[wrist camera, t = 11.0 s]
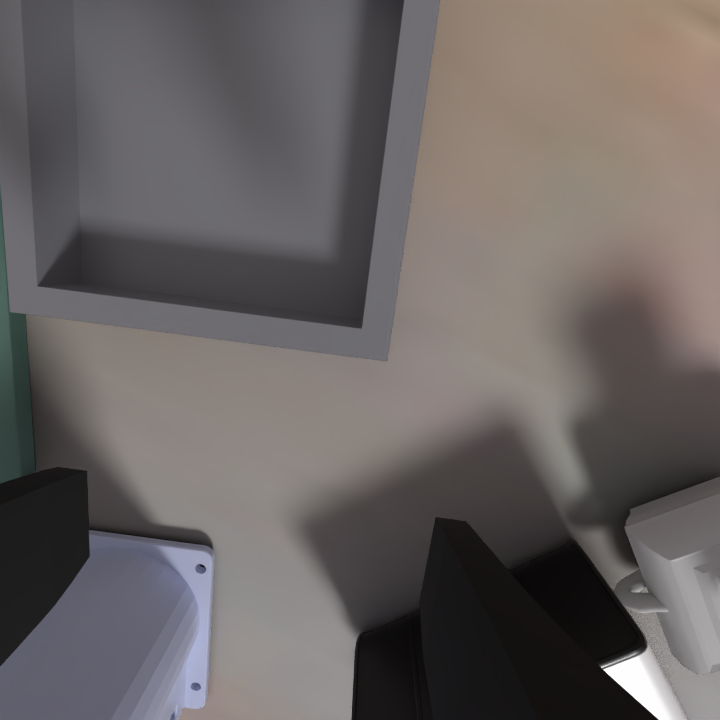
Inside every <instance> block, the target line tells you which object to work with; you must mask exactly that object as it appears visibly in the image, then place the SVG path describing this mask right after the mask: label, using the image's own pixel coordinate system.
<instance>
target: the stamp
mask: <svg viewBox="0 0 720 720" xmlns="http://www.w3.org/2000/svg"><path fill="white" fill-rule="evenodd" d="M624 528H625V531H626V534H627V536H628V539H629V542H630V544H631V547H632V550H633V552H634V555H635V558H636V560H637V563H638V565H639V568H640V569H639V570H638V571H636V572H634V573H632V574H631V575H629V576H627V577H625V578H624V579H622V580H621V581H619V582H618V583H617V585H616V587H615V589H614V591H613V592H614V593H615V595H616V596H617V597H618V599H619V600H620V602H621V603H622V604H623V606H624V607H625V608H627V609H630V610H633V611H636V612H639V613H649V612H656V613H657V616H658V619H659V621H660V624H661V627H662V629H663V632H664V635H665V637H666V640H667V643H668V645H669V648H670V651H671V653H672V655H673V656H674V657H675V658H676V659H677V660H678V661H679V662H680V663H681V664H682V665H683V666H684V667H686V668H688V669H689V670H691V671H693V672H694V673H696V674H702V675H704V674H709V673H713V672H716V671H719V670H720V477H717V478H714V479H712V480H709V481H706V482H703V483H701V484H698V485H695V486H692V487H690V488H687V489H684V490H681V491H679V492H676V493H673V494H670V495H668V496H665V497H662V498H659V499H657V500H654V501H651V502H648V503H646V504H643V505H640V506H637V507H635V508H632V509H630V515H629V517H628V518H627V520H626V526H625V527H624ZM644 587H647V589H648V592H649V593H639V592H640V590H642V589H643V588H644Z"/></svg>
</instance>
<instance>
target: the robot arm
mask: <svg viewBox="0 0 720 720" xmlns="http://www.w3.org/2000/svg"><path fill="white" fill-rule="evenodd" d="M214 558H215V555H214V552H213V550H212V549H211V548H210V547H208V546H205V545H198V544H191V543H183V542H176V541H168V540H161V539H153V538H146V537H138V536H131V535H123V534H116V533H108V532H101V531H93V530H89V517H88V486H87V471H84V470H76V469H68V468H61V467H56V468H52V469H47V470H43V471H40V472H36V473H32V474H29V475H26V476H22V477H19V478H16V479H13V480H9V481H6V482H3V483H0V720H178V719H179V717H180V714H181V712H182V710H183V707H185V708H192V709H199V708H202V707H203V706H204V705H205V702H206V700H207V696H208V677H209V657H210V638H211V618H212V598H213V578H214ZM199 564H202V565H204V566H205V567H206V568H203V567H201V566H200V565H199ZM420 616H421V633H422V648H423V658H424V665H425V671H426V677H427V683H428V689H429V696H430V702H431V708H432V714H433V720H658V719H657V718H656V717H655V716H654V715H653V714H652V713H651V712H650V711H648V710H647V709H646V708H645V707H644V706H643V705H642V704H641V703H640V702H638V701H637V700H636V699H635V698H634V697H633V696H632V695H631V694H630V693H628V692H627V691H626V690H625V689H624V688H623V687H622V686H621V685H619V684H618V683H617V682H616V681H615V680H614V679H613V678H612V677H611V676H610V675H608V674H607V673H606V672H605V671H604V670H603V669H602V668H601V667H600V666H599V665H598V664H597V663H596V662H595V661H594V660H593V659H592V658H591V657H590V656H589V655H588V654H587V653H586V652H585V651H584V650H583V649H582V648H581V647H580V646H579V645H578V644H577V643H576V642H575V641H574V640H573V639H572V638H571V637H570V636H569V635H568V634H567V633H566V632H565V631H564V630H563V629H562V628H561V627H560V626H559V625H558V624H557V623H556V622H555V621H554V620H553V619H552V618H551V617H550V616H549V615H548V614H547V613H546V612H545V611H544V610H543V609H542V607H541V606H540V605H539V604H538V603H537V602H536V601H535V600H534V599H533V598H532V597H531V596H530V594H529V593H528V592H527V591H526V590H525V589H524V588H523V587H522V586H521V584H520V583H519V582H518V581H517V580H516V579H515V578H514V577H513V575H512V574H511V573H510V572H509V571H508V570H507V569H506V567H505V566H504V565H503V564H502V563H501V562H500V560H499V559H498V558H497V557H496V556H495V555H494V553H493V552H492V551H491V550H490V549H489V548H488V546H487V545H486V544H485V543H484V542H483V541H482V539H481V538H480V537H479V536H478V535H477V534H476V532H475V531H474V530H473V529H472V528H471V527H470V526H469V525H468V523H467V522H466V521H460V520H452V519H445V518H437V517H436V519H435V524H434V529H433V534H432V540H431V545H430V550H429V555H428V560H427V565H426V571H425V576H424V581H423V586H422V591H421V597H420Z"/></svg>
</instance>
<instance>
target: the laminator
mask: <svg viewBox="0 0 720 720" xmlns="http://www.w3.org/2000/svg"><path fill="white" fill-rule="evenodd" d="M509 572H510V573H511V574H512V575H513V577H514V578H515V579H516V580H517V581H518V582H519V583H520V584H521V586H522V587H523V588H524V589H525V590H526V591H527V592H528V593H529V594H530V596H531V597H532V598H533V599H534V600H535V601H536V602H537V603H538V604H539V605H540V606H541V607H542V609H543V610H544V611H545V612H546V613H547V614H548V615H549V616H550V617H551V618H552V619H553V620H554V621H555V622H556V623H557V624H558V625H559V626H560V627H561V628H562V629H563V630H564V631H565V632H566V633H567V634H568V635H569V636H570V637H571V638H572V639H573V640H574V641H575V642H576V643H577V644H578V645H579V646H580V647H581V648H582V649H583V650H584V651H585V652H586V653H587V654H588V655H589V656H590V657H591V658H592V659H593V660H594V661H595V662H596V663H597V664H598V665H599V666H600V667H601V668H602V669H603V670H604V671H605V672H606V673H607V674H608V675H610V676H611V677H612V678H613V679H614V680H615V681H616V682H617V683H618V684H619V685H621V686H622V687H623V688H624V689H625V690H626V691H627V692H628V693H630V694H631V695H632V696H633V697H634V698H635V699H636V700H637V701H638V702H640V703H641V704H642V705H643V706H644V707H645V708H646V709H647V710H648V711H650V712H651V713H652V714H653V715H654V716H655V717H656V718H657V719H658V720H688V719H687V717H686V715H685V713H684V711H683V709H682V707H681V705H680V703H679V701H678V700H677V698H676V696H675V694H674V692H673V690H672V688H671V686H670V684H669V682H668V680H667V678H666V676H665V674H664V672H663V671H662V669H661V667H660V665H659V663H658V661H657V659H656V657H655V655H654V653H653V651H652V649H651V647H650V645H649V643H648V642H647V640H646V638H645V636H644V634H643V633H642V631H641V630H640V628H639V627H638V625H637V624H636V623H635V621H634V620H633V618H632V617H631V616H630V614H629V613H628V611H627V610H626V609H625V607H624V606H623V604H622V603H621V602H620V600H619V599H618V597H617V596H616V595H615V593H614V592H613V591H612V589H611V588H610V586H609V585H608V584H607V582H606V581H605V579H604V578H603V577H602V575H601V574H600V572H599V571H598V570H597V568H596V567H595V566H594V564H593V563H592V561H591V560H590V559H589V557H588V556H587V554H586V553H585V552H584V550H583V549H582V548H581V546H580V545H579V544H578V543H577V542H576V541H575V540H571V541H570V543H568V544H567V545H566V546H563V547H561V548H559V549H557V550H555V551H553V552H551V553H548V554H546V555H544V556H542V557H539V558H537V559H535V560H533V561H530V562H528V563H526V564H524V565H522V566H520V567H517V568H515V569H512V570H510V571H509ZM352 720H433V714H432V708H431V702H430V696H429V689H428V683H427V677H426V671H425V665H424V658H423V648H422V633H421V616H420V611H418V612H416V613H413V614H411V615H409V616H407V617H404V618H402V619H400V620H397V621H395V622H393V623H390V624H388V625H386V626H383V627H381V628H379V629H376V630H374V631H371V632H368V633H365V632H364V633H361V634H360V635H359V637H358V638H357V641H356V647H355V661H354V681H353V701H352Z"/></svg>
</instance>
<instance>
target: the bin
mask: <svg viewBox="0 0 720 720" xmlns="http://www.w3.org/2000/svg"><path fill="white" fill-rule="evenodd" d="M439 5H440V0H0V184H1V198H2V211H3V225H4V238H5V252H6V265H7V279H8V292H9V306H10V312H14V313H22V314H29V315H37V316H44V317H52V318H60V319H67V320H75V321H83V322H90V323H98V324H105V325H113V326H121V327H128V328H136V329H143V330H151V331H159V332H166V333H174V334H182V335H189V336H197V337H204V338H212V339H220V340H227V341H235V342H242V343H250V344H258V345H265V346H273V347H281V348H288V349H296V350H303V351H311V352H319V353H326V354H334V355H341V356H349V357H357V358H364V359H372V360H380V361H387V360H388V353H389V346H390V339H391V333H392V326H393V319H394V312H395V305H396V298H397V292H398V285H399V278H400V271H401V264H402V257H403V251H404V244H405V237H406V230H407V223H408V217H409V210H410V203H411V196H412V189H413V182H414V176H415V169H416V162H417V155H418V148H419V141H420V135H421V128H422V121H423V114H424V107H425V100H426V94H427V87H428V80H429V73H430V66H431V59H432V53H433V46H434V39H435V32H436V25H437V18H438V12H439Z"/></svg>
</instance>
